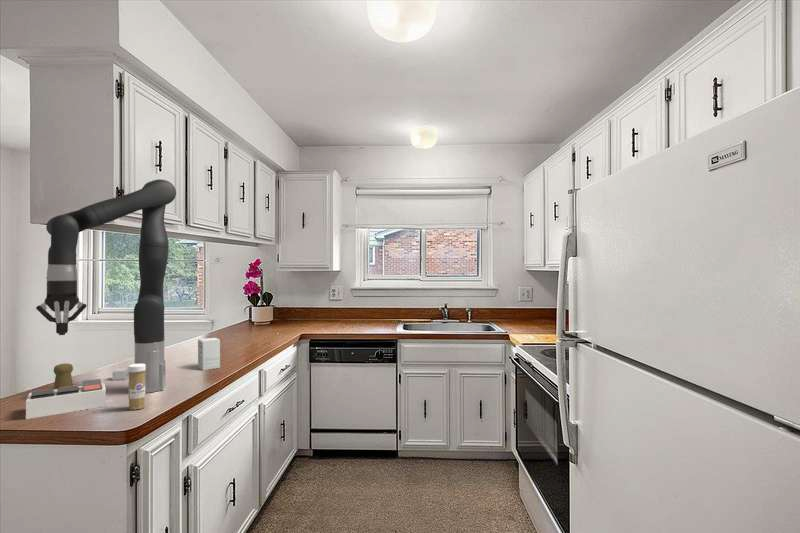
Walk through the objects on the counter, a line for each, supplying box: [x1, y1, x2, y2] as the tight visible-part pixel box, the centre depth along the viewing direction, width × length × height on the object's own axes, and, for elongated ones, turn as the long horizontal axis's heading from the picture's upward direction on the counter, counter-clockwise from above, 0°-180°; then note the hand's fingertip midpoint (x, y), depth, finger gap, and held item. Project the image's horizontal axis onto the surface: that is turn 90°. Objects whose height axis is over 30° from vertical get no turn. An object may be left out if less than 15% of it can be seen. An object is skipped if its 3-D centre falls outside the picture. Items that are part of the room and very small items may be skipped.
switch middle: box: [58, 384, 79, 393], centre depth 135 cm, size 5×7×1 cm
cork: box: [52, 363, 74, 390], centre depth 147 cm, size 6×6×11 cm
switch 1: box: [31, 388, 54, 396], centre depth 131 cm, size 5×7×1 cm
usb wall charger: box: [111, 367, 129, 381], centre depth 171 cm, size 4×7×4 cm, turn 103°
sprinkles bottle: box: [127, 363, 146, 411], centre depth 134 cm, size 5×5×14 cm
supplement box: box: [197, 337, 221, 371], centre depth 189 cm, size 7×7×13 cm
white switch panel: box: [25, 382, 107, 420], centre depth 134 cm, size 19×10×5 cm, turn 126°
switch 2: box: [82, 378, 102, 392], centre depth 138 cm, size 5×7×1 cm
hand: (61, 334), depth 135 cm, fingers closed
